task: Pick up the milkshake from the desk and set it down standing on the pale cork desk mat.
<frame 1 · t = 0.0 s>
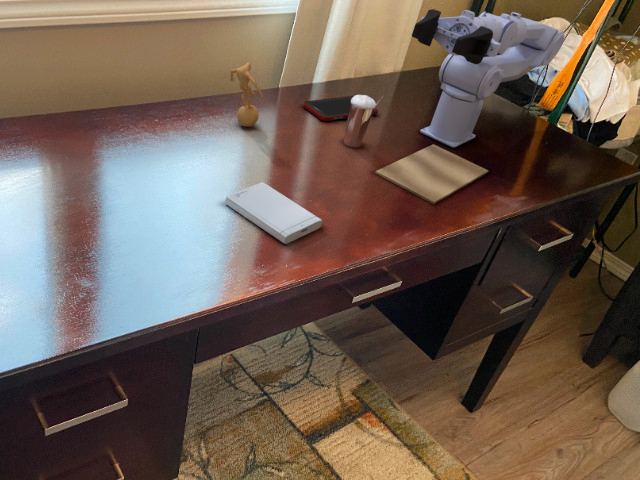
hand: (435, 38, 98), 22 cm above the table, tool horizontal, fingers open, 7 cm apart
milkshake: (353, 145, 115), on the table
hard drive: (272, 217, 92), on the table
cell phone: (339, 111, 126), on the table
figurine: (242, 127, 114), on the table
desk mat: (432, 173, 110), on the table
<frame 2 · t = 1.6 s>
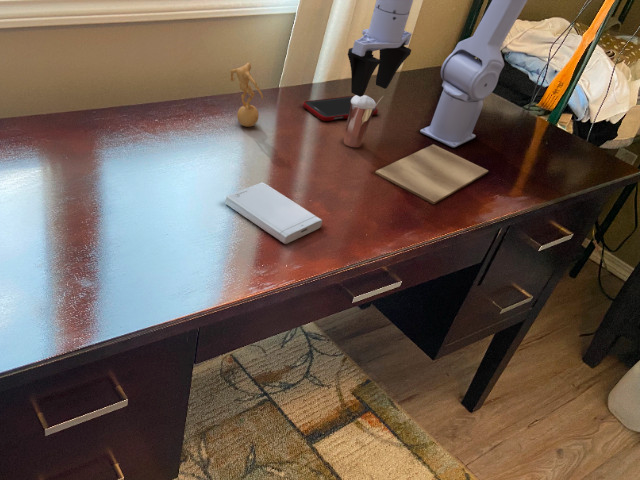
hand: (369, 90, 108), 10 cm above the table, tool pointing down, fingers open, 7 cm apart
nothing on the table moved.
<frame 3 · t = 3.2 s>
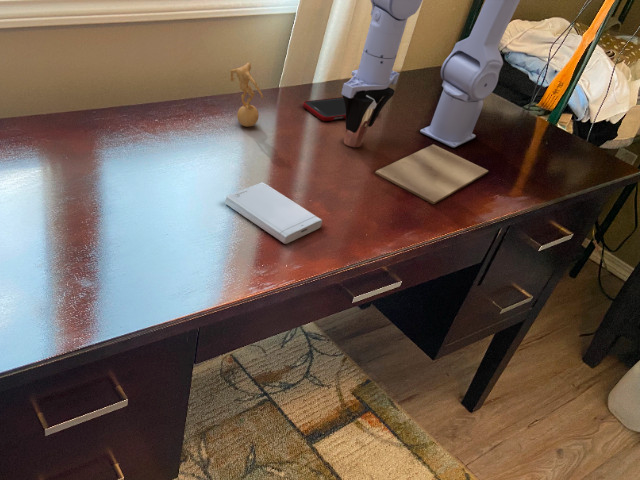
hand: (358, 127, 112), 3 cm above the table, tool pointing down, fingers closed on milkshake, 4 cm apart
milkshake: (353, 145, 115), on the table, touching gripper
everything else where it was.
when the fingers open (4 cm above the table, at t = 7.7 s): milkshake stays where it is, resting on desk mat.
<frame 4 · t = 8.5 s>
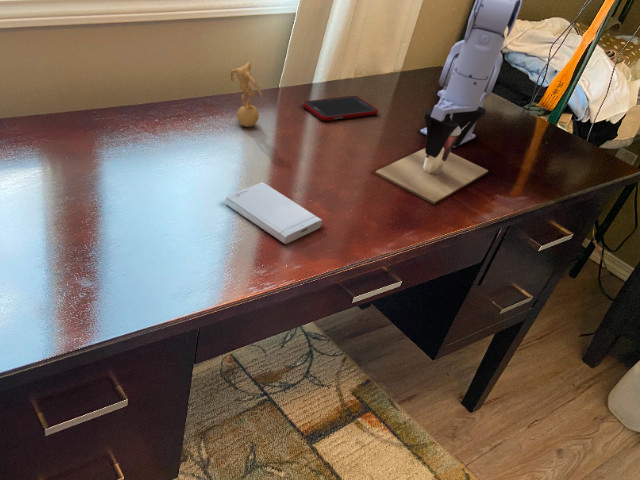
hand: (441, 149, 107), 5 cm above the table, tool pointing down, fingers open, 7 cm apart
milkshake: (433, 171, 110), resting on desk mat
everything else where it was.
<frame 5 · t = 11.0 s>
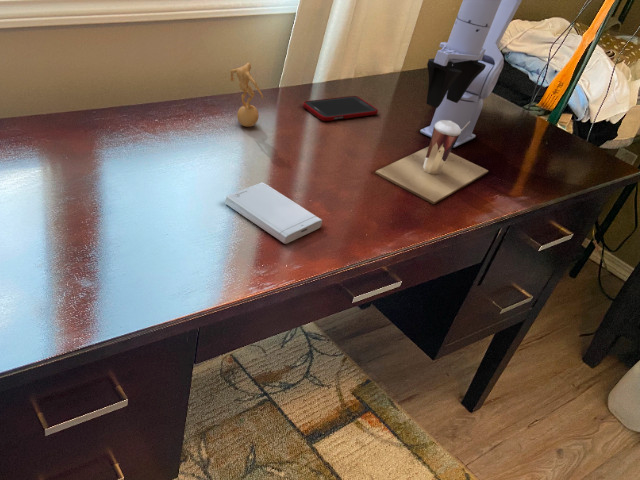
hand: (442, 103, 108), 10 cm above the table, tool pointing down, fingers open, 7 cm apart
nothing on the table moved.
at the end: milkshake inside the target area (0.0 cm from its centre), on the table; milkshake tilted 0°; the gripper is holding nothing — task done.
